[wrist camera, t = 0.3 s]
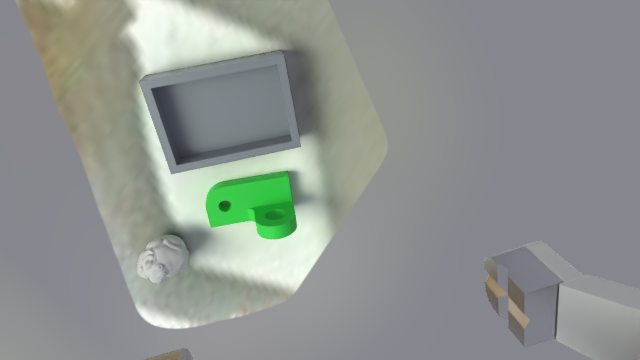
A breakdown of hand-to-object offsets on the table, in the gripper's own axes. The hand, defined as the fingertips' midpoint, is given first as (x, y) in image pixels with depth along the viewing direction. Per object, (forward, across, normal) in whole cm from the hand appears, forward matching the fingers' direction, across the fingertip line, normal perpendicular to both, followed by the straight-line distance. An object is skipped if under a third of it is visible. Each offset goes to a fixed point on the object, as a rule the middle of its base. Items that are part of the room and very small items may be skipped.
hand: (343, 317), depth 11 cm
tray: (+47, +6, +6) cm, 47 cm away
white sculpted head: (+47, +20, +23) cm, 56 cm away
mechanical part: (+47, +7, +19) cm, 51 cm away
